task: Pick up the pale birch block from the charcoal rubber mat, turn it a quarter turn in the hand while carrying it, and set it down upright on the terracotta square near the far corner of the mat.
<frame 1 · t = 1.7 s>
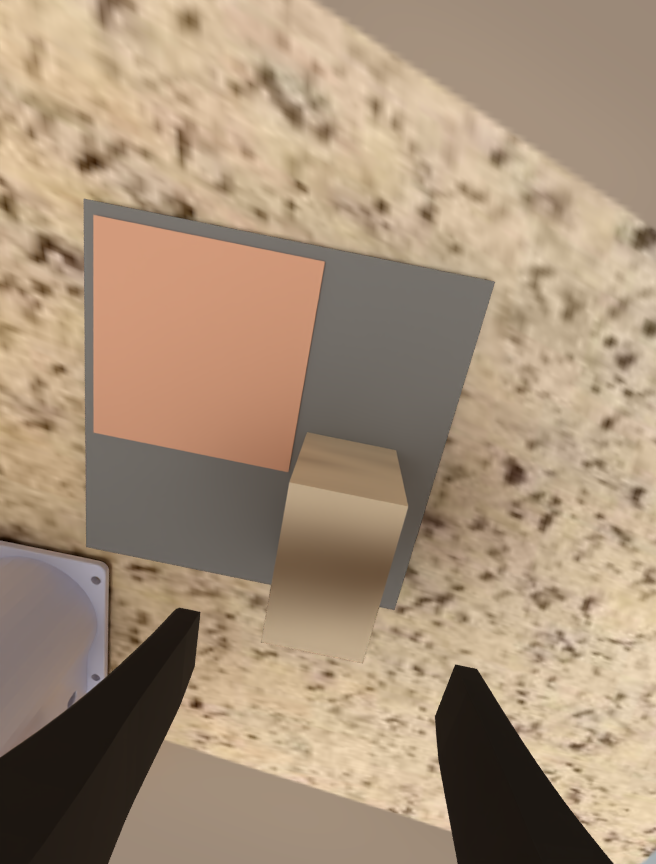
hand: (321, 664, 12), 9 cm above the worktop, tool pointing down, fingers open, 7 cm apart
birch block: (336, 509, 20), resting on rubber mat
rubber mat: (263, 430, 19), on the worktop
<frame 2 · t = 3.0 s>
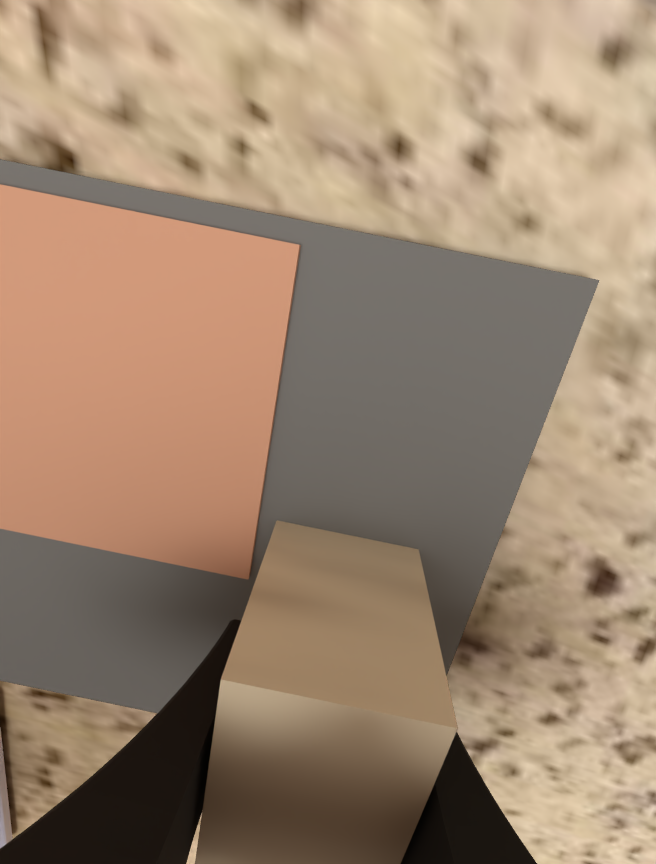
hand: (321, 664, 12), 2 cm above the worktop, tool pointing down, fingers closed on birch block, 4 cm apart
birch block: (324, 631, 13), resting on rubber mat, touching gripper
rubber mat: (209, 513, 12), on the worktop
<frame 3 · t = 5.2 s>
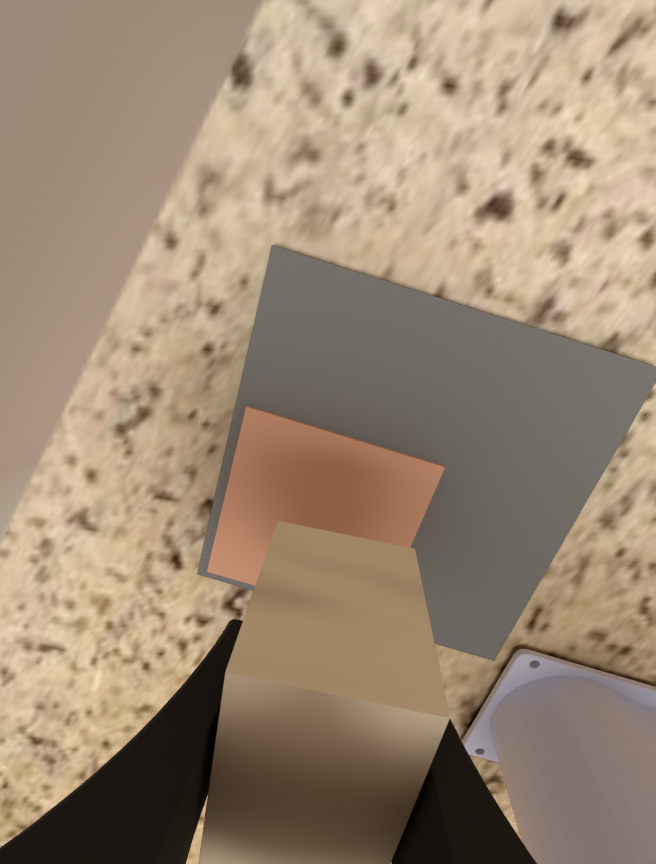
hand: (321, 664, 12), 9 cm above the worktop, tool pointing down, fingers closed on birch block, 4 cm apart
birch block: (324, 628, 13), point 7 cm above the worktop, touching gripper
rubber mat: (399, 480, 19), on the worktop
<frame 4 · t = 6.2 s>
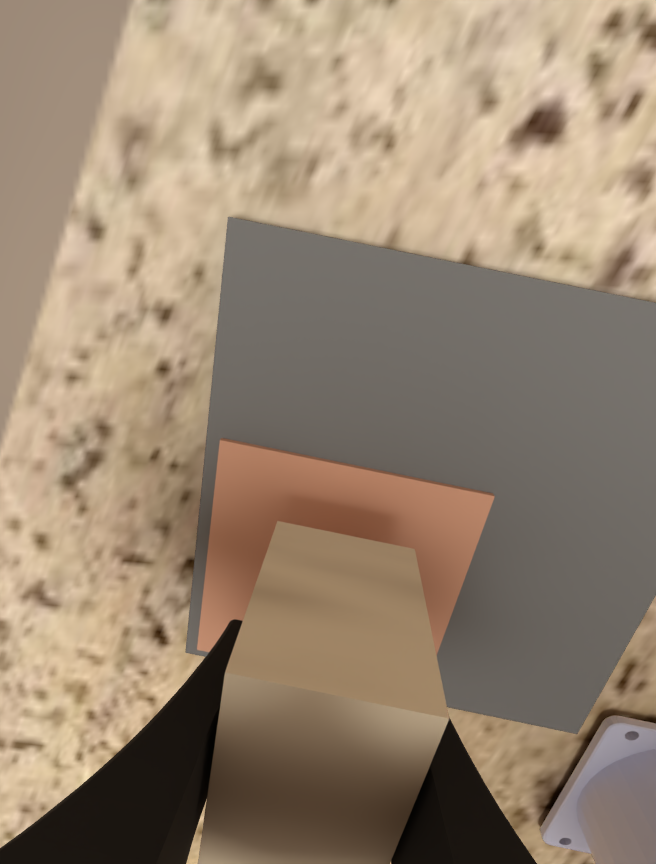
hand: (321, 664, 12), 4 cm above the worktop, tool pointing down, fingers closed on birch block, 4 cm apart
birch block: (323, 628, 13), point 3 cm above the worktop, touching gripper
rubber mat: (433, 517, 15), on the worktop
when the fingers open (3 cm above the worktop, at t = 7.3 s): birch block stays where it is, resting on rubber mat.
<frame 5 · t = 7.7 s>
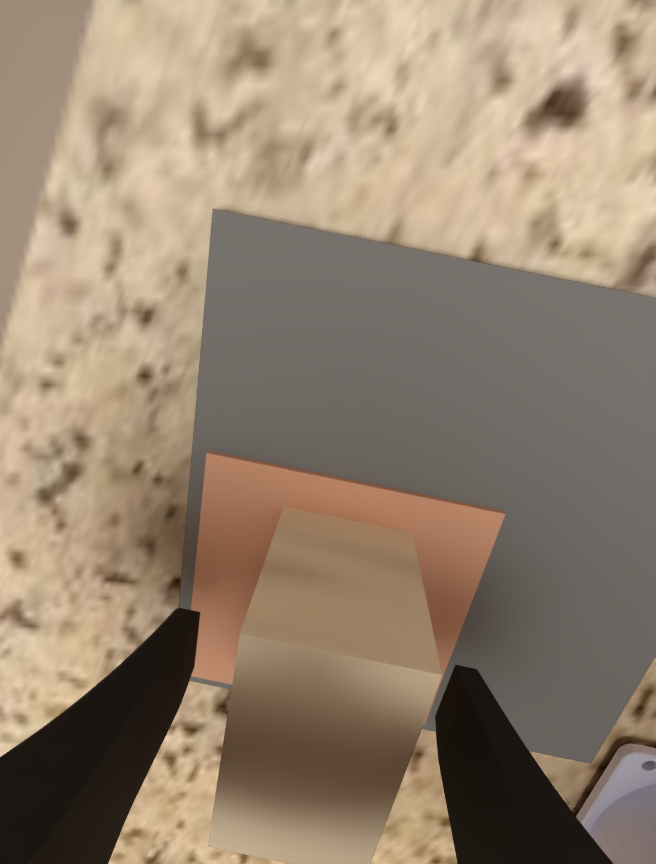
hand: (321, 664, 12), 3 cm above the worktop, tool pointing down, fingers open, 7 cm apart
birch block: (326, 608, 14), point 1 cm above the worktop, touching rubber mat
rubber mat: (438, 535, 14), on the worktop
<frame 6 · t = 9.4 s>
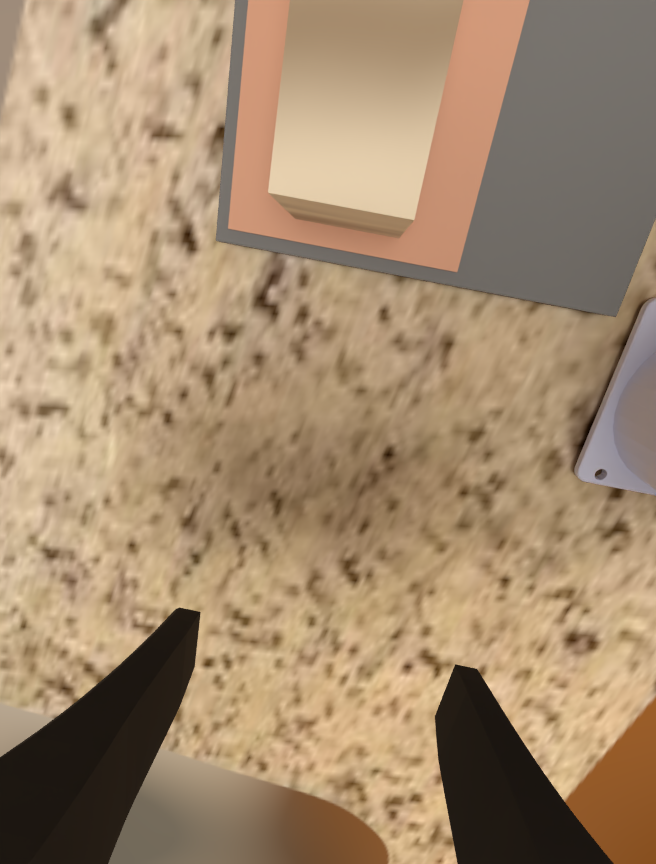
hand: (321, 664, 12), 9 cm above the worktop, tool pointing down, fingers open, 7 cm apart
birch block: (365, 120, 15), point 1 cm above the worktop, touching rubber mat
rubber mat: (471, 30, 14), on the worktop
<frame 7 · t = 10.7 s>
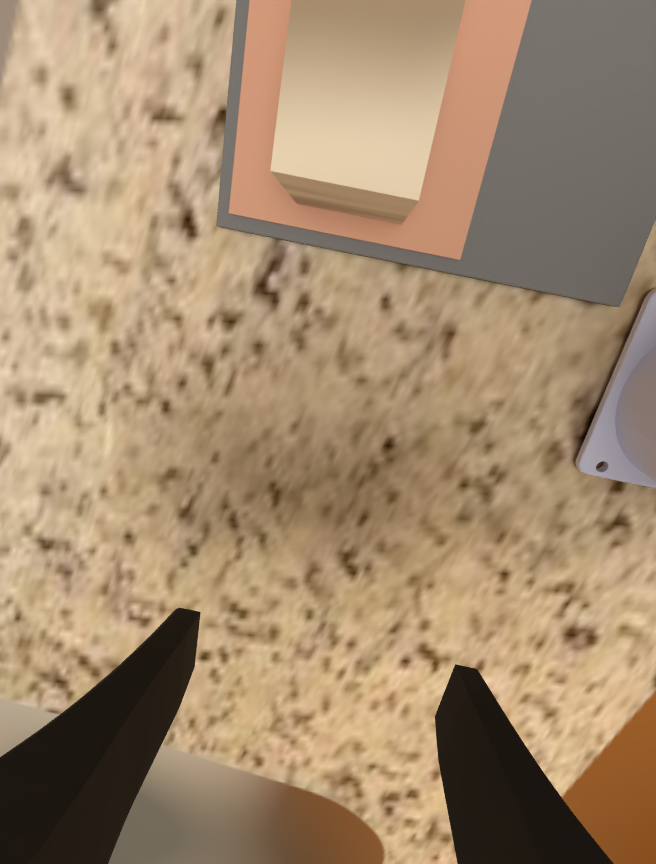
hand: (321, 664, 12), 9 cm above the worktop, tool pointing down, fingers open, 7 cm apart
birch block: (369, 103, 15), point 1 cm above the worktop, touching rubber mat
rubber mat: (477, 14, 14), on the worktop
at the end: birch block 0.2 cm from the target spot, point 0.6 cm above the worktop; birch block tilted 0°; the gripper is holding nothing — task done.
